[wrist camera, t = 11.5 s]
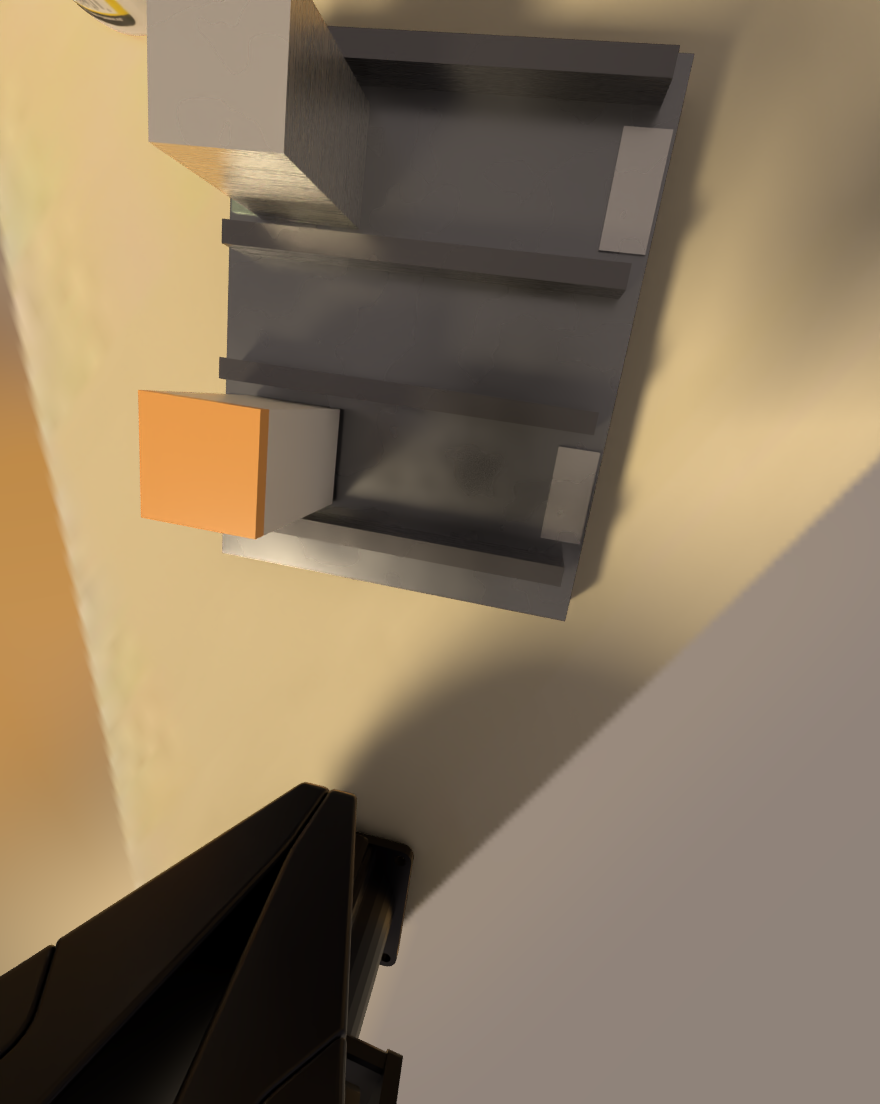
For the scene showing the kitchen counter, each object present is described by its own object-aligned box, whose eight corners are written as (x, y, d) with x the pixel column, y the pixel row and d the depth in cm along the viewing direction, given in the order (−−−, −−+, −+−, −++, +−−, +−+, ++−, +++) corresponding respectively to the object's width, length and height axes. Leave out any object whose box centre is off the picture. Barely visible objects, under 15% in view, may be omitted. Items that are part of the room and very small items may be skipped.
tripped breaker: (332, 503, 17) (255, 539, 12) (246, 488, 18) (141, 517, 13) (340, 409, 16) (260, 409, 12) (250, 395, 17) (137, 390, 12)
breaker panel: (562, 604, 18) (574, 697, 12) (244, 542, 20) (122, 598, 14) (678, 89, 14) (779, -140, 8) (262, 62, 16) (95, -146, 10)
